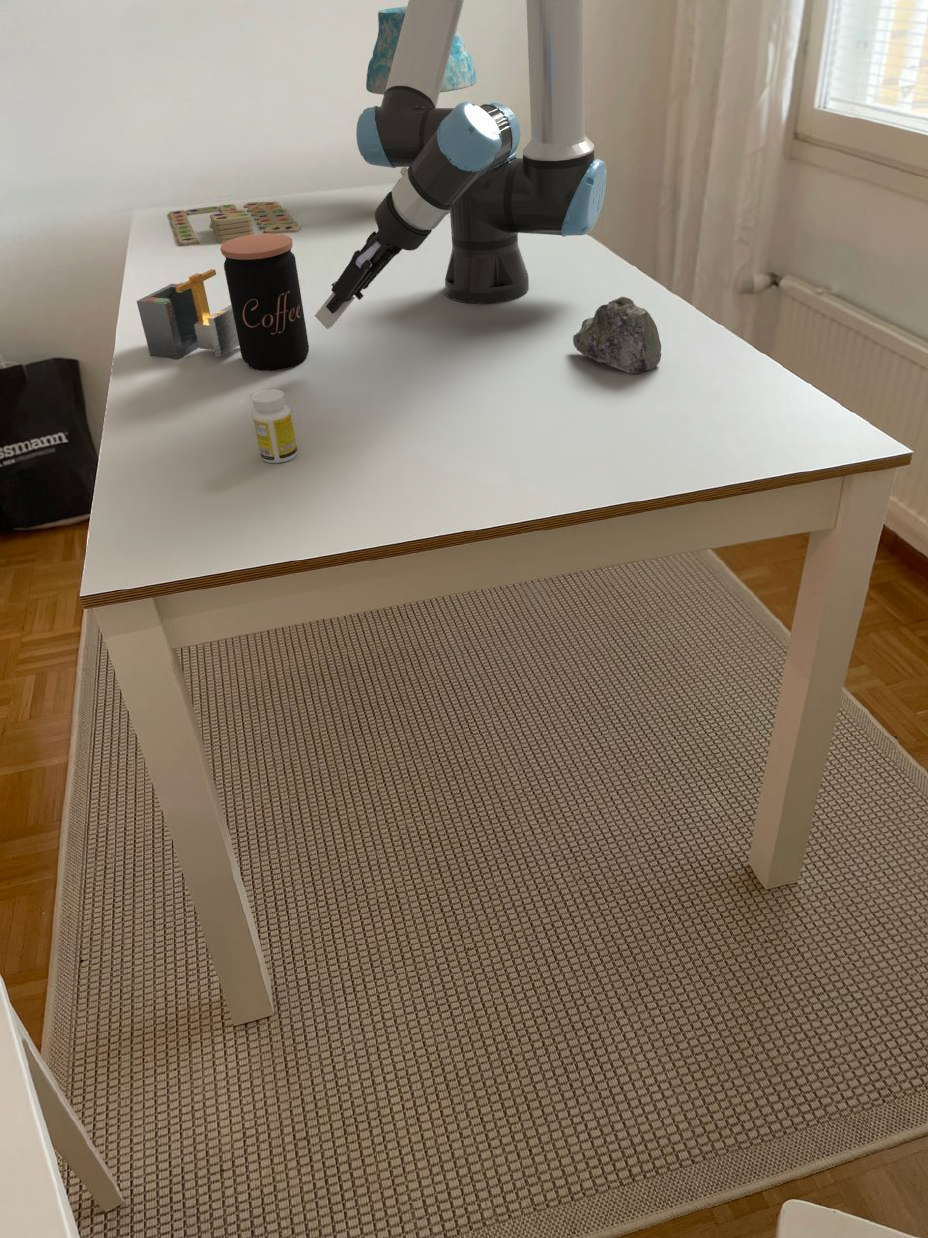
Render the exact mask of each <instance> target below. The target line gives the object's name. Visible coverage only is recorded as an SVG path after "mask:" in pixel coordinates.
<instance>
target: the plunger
mask: <svg viewBox="0 0 928 1238" xmlns="http://www.w3.org/2000/svg"><path fill="white" fill-rule="evenodd" d="M216 275H217V271H216V269H214V268H213V269H208V270H207V271H205V272H203V273H195V274H193V275H190V276H189V277H188V279H189V280H187V281H185V282H182V283H183V284H181V285H179V286H177V287H176V291H177V292H179V293H181V292H183V291H185V290H187V289H189V288H191V290H192V294H193V299H194V303H195V308H196V312H197V317H198V322H197V323H195V324H194V327H195V331H196V336H197V340H198V345H199V348H198V349H200V350H201V349H203V350H209V351H214V354H215V356H218V357H219V356H220V357H222V356H224V355H226V354H227V353H229V352H231V351H232V350H234V349H236V348H237V347H240V346H239V341H238V336H237V331H236V326H235V321H234V316H233V311H232V305H231V304H230V305H228V306H226V307H224V308H222V309H221V310H219V311H218V312H217V311H216V312H215V313H213V314H211V312H210V307H209V303H208V296H207V292H206V287H205V283H204V282H205V281H208V280H209V279H211V278H213V277H214V276H216Z"/></svg>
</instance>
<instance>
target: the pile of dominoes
mask: <svg viewBox="0 0 928 1238" xmlns="http://www.w3.org/2000/svg"><path fill="white" fill-rule="evenodd" d="M243 208H244V209H246V210H244V209H238V208H237V206H236V205H235V204H232V203H230V204H221V205H219V206H217V205H215V206H207V207H198V208H192V209H189V208H188V209H186V210H184V209H181V210H173V211H172V210H171V211H169V212H168V216H169V219H170V223H171V226H172V230H174V233H175V236H176V239H177V241H178V244H179V246H180V247H188V246H196V245H199V244H200V243H199V240H198V238H197V235H196V234H195V230H194V229H193V226H192V225H191V223H190V220H189V216H194V215H202V214H210V215H209V218H210V224H209V225H210V227H211V229H212V230H213V231H212V232H213V233H214V237H215V239H216V240H217V242H218V244H219V245H222V244H224V243H225V242H227V241H229V240H231V239H234V238H238V237H242V236H247V235H253V234H255V232H254V226H253V222H252V219H253V221H256V225H257V226H259V229H260V230H263V233H274V234H289V233H290V234H291V233H299V232H300V231H301V230H302V225H300V224H297V221H295V220H294V218H293V217H291V215H290V213H288V212H287V209H285V208H283V207H282V205H281V204H280V205H279V202H278V201H253V202H250V201H249V202H246V203H245V204H243ZM252 217H253V218H252Z"/></svg>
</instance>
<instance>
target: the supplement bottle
mask: <svg viewBox="0 0 928 1238" xmlns="http://www.w3.org/2000/svg"><path fill="white" fill-rule="evenodd" d="M286 404H287V403H286V399H285V394H284V391H282V390H280V389H274V388H271V389H265V390H260V391H258V392H256V393H253V396H252V406H253V408H254V410H253V412H252V419H253V425H254V429H255V434H256V439H257V443H258V448H259V452H260V458H261V460H263V462H266V463H268V464H269V463H270V464H281V463H286V462H289V461H291V460H293V459H294V458H296V457H297V455H298V446H297V441H296V436H295V435H296V434H295V430H294V425H293V420H292V413H291V410H290V407H289V406H287V405H286Z"/></svg>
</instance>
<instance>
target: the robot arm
mask: <svg viewBox="0 0 928 1238" xmlns="http://www.w3.org/2000/svg"><path fill="white" fill-rule="evenodd" d="M464 1H465V0H408V2H407V5H406V7H407V9H406V13H405V17H404V21H403V25H402V28H401V32H400V36H399V40H398V44H397V48H396V52H395V55H394V59H393V63H392V67H391V71H390V75H389V79H388V82H387V86H386V90H385V93H384V95H383V98H382V101H381V105H379V106H378V105H374V106H372V107H366V108H365V109H363V112H362V113H360V114H359V117H358V120H357V122H356V133H355V134H356V135H355V136H356V145H357V149H358V152H359V153H360V155H361V157H362V158H363V160H364V161H365V162H366V163H367V164H369V165H371V166H377V167H378V166H379V167H385V168H392V169H395V168H401V169H400V171H399V172H400V174H401V176H402V177H401V178H399V179H398V180H397V182H396V183H395V184H394V186H393V187H392V190H391V191H389V192H388V193H387V194H386V196H384V198H383V199H382V201H381V202H380V203H379V204H378V206H377V207H376V209H375V211H374V221H375V224H376V226H377V232H376V231H375V230H374V231H372V233H371V234H370V235H368V236H367V238H366V242H365V244H364V245H363V247H362V248H360V250H359V249H358V250H355V251H354V252H353V255H352V257H351V259H350V261H349V262H348V264H347V266H346V267H345V269H344V270H343V271H342V273H341V275H340V276H339V277H338V279H337V280H336V281H334V282H332V283H331V286H332V288H331V292H332V293H331V294H330V295H329V297H328V298H327V299H326V300H325V302H324V303H323V304H322V305H321V307H320V308H319V309H318V311H317V312H316V313H315V315H314V317H315V318H316V319H317V320H318V321H319V322H320V323H321V325H322V326H323V327H324V328H325V329H326V330H329V329H330V328H332V327H333V326H334V325H335V323H336V322H337V321H338V320H339V319H340V318H341V316H342V315H343V313H344V312H345V311H346V310H347V309H348V307H349V306H350V305H351V303H353V302H354V300H355V298H357V300H358V301H360V300H362V298H363V297H364V294H363V293H362V291H363V290H366V289H368V288H369V285H370V284H372V282H373V281H374V280H375V278H377V277H378V276H379V274H380V273H381V272H382V271H383V270H384V268H385V267H386V266H387V265H388V264H389V263H390V262H391V261H392V260H393V258H395V256H397V255H399V254H400V253H401V251H402V250H404V251H415V250H417V249H418V248H419V247H420V246H421V245H422V244H423V242H425V240H426V239H427V238H428V237H429V235H431V233H432V232H433V230H435V229H436V228H437V226H439V224H440V223H441V222H443V221H442V220H444V218H445V217H446V215H448V214H449V217H450V231H451V233H450V234H451V253H450V257H449V260H448V265H447V269H446V272H445V273H446V274H445V276H444V290H445V291H444V292H445V295H446V296H447V297H448V298H450V299H452V300H455V301H456V302H461V303H469V304H492V303H493V304H494V303H499V302H500V303H501V302H505V301H506V302H507V301H509V300H513V299H516V298H520V297H521V296H523V295H525V294H526V293H527V292H528V291H529V286H530V285H529V283H530V282H529V280H530V279H529V273H528V270H527V267H526V265H525V264H526V263H525V262H524V259H523V256H522V252H521V250H520V246H519V237H518V234H530V235H531V234H532V235H533V234H534V235H535V234H536V235H552V236H561V237H563V238H564V237H567V236H585V235H588V234H589V232H590V231H592V229H593V228H594V227H595V225H596V223H597V222H598V219H599V216H600V213H601V209H602V206H603V203H604V197H605V193H606V189H607V188H606V186H607V185H606V184H607V167H606V166H607V165H606V163H605V161H604V160H601V159H600V158H595V145H594V143H593V142H592V141H591V140H590V139H589V138H588V137H587V136H586V130H585V129H586V127H585V126H586V125H585V124H586V117H585V116H586V115H585V114H586V113H585V111H586V110H585V108H586V107H585V105H586V104H585V103H586V101H585V100H586V99H585V94H586V93H585V92H586V91H585V88H586V86H585V85H586V84H585V73H586V72H585V0H525V1H526V2H525V3H526V21H527V23H526V24H527V25H526V28H527V53H528V54H527V56H528V58H527V59H528V79H529V80H528V82H529V105H530V107H529V108H530V109H529V110H530V132H531V133H530V134H531V135H530V136H531V137H530V138H531V139H530V140H529V142H528V143H526V145H525V146H524V147H523V149H522V158H521V157H518V153H517V149H518V147H519V144H520V140H521V127H520V122H519V120H518V118H517V115H515V113H514V112H513V111H512V110H511V108H509V107H508V106H507V105H504V104H503V103H498V102H492V103H483V104H482V105H477V104H474V103H473V104H471V103H470V102H467V101H466V102H465V101H464V102H460V103H459V104H456V106H455V107H440V108H439V107H437V106H438V101H439V98H440V94H441V93H440V90H441V87H442V83H443V79H444V75H445V71H446V67H447V64H448V60H449V56H450V52H451V48H452V44H453V41H454V37H455V33H456V29H458V25H459V21H460V17H461V13H462V9H463V7H464ZM449 211H450V212H449ZM448 212H449V213H448Z"/></svg>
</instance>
